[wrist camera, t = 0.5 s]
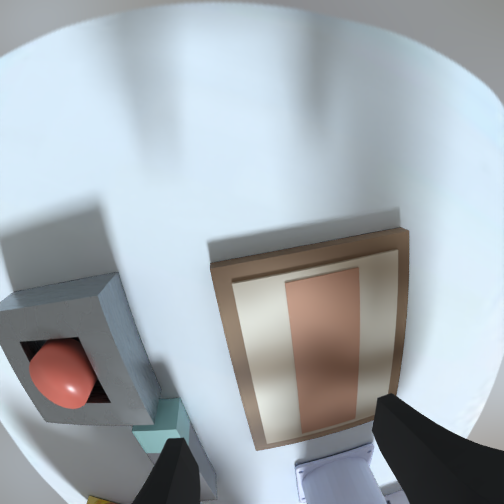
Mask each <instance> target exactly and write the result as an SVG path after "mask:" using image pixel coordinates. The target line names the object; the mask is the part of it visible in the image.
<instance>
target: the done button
mask: <svg viewBox="0 0 504 504" xmlns="http://www.w3.org/2000/svg"><path fill="white" fill-rule="evenodd" d="M29 372H30V376H31V379H32V381H33V383H34V384H35V386H36V387H37V389H38V390H39V391H40V392H41V393H42V394H43V395H44V396H45V397H46V398H47V399H49V400H50V401H51V402H53V403H55V404H57V405H59V406H61V407H65V408H69V409H77V408H80V407H82V406H84V405H85V403H86V402H87V400H88V397H89V395H90V393H91V391H92V389H93V387H94V384H95V382H96V380H97V378H98V377H97V375H96V373H95V371H94V369H93V367H92V365H91V363H90V361H89V359H88V357H87V355H86V353H85V350H84V348H83V346H82V344H81V343H79V342H78V341H76V340H74V339H72V338H60V339H49V340H47V341H46V342H45V344H44V345H43V346H42V347H41V349H40V350H39V351H38V352H37V354H36V355H35V356H34V357H33V359H32V360H31V362H30V364H29Z"/></svg>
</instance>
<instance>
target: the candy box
mask: <svg viewBox="0 0 504 504" xmlns="http://www.w3.org/2000/svg"><path fill="white" fill-rule="evenodd" d="M87 504H117V503H113V502H110V501H106V500H103V499H99V498H95V497H92V496H89V497H88V501H87Z"/></svg>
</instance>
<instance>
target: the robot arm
mask: <svg viewBox="0 0 504 504" xmlns="http://www.w3.org/2000/svg"><path fill="white" fill-rule="evenodd" d="M372 432H373V434H374V437H375V439H376V442H377V444H378V447H379V449H380V451H381V453H382V455H383V456H384V458H385V460H386V462H387V463H388V465H389V467H390V468H391V470H392V472H393V473H394V475H395V477H396V479H397V480H398V482H399V484H400V485H401V487H402V489H403V491H404V493H405V495H406V496H407V499H408V501H409V504H504V451H502V450H498V449H494V448H490V447H487V446H483V445H480V444H478V443H475V442H472V441H470V440H468V439H465V438H463V437H461V436H459V435H457V434H455V433H453V432H451V431H449V430H447V429H445V428H443V427H442V426H440V425H438V424H436V423H435V422H433V421H432V420H430V419H429V418H427V417H425V416H424V415H422V414H421V413H419V412H418V411H416V410H415V409H413V408H412V407H411V406H409V405H408V404H406V403H405V402H404V401H402V400H401V399H399V398H398V397H397V396H395V395H394V394H392V393H390V394H387V395H384V396H381V397H379V398H377V403H376V410H375V416H374V422H373V427H372ZM373 450H374V445H373V444H368V445H365V446H362V447H359V448H356V449H353V450H350V451H347V452H344V453H340V454H337V455H334V456H330V457H327V458H323V459H320V460H316V461H312V462H308V463H304V464H300V465H297V466H296V467H295V472H296V479H297V487H298V494H299V501H300V503H306V502H307V504H387V502H386V500H385V498H384V496H383V494H382V492H381V490H380V488H379V486H378V484H377V482H376V479H375V477H374V475H373V473H372V471H371V469H370V463H371V459H372V455H373ZM200 491H201V487H200V474H199V466H198V464H197V462H196V460H195V458H194V456H193V454H192V452H191V450H190V448H189V446H188V444H187V442H186V440H185V438H184V437H183V438H168V439H167V440H166V442H165V444H164V447H163V449H162V451H161V453H160V455H159V457H158V459H157V461H156V463H155V465H154V467H153V469H152V471H151V473H150V475H149V477H148V478H147V480H146V482H145V484H144V485H143V487H142V489H141V490H140V492H139V493H138V495H137V496H136V498H135V500H134V501H133V503H132V504H200Z"/></svg>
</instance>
